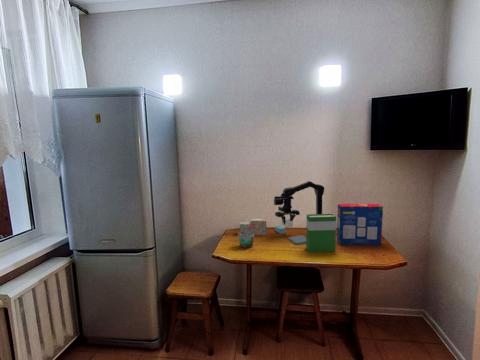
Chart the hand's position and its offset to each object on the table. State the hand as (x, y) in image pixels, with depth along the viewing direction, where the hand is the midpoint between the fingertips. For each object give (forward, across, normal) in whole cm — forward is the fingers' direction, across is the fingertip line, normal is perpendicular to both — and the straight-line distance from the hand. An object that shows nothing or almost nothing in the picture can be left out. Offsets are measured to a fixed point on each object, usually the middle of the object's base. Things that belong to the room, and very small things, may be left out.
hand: (287, 224), depth 211 cm
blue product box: (+10, -40, +32) cm, 52 cm away
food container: (+10, +39, +10) cm, 41 cm away
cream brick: (+1, 0, 0) cm, 1 cm away
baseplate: (+10, -3, +13) cm, 17 cm away
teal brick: (+10, +1, -11) cm, 15 cm away
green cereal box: (+10, -8, +32) cm, 35 cm away
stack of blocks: (+10, +23, -14) cm, 29 cm away
